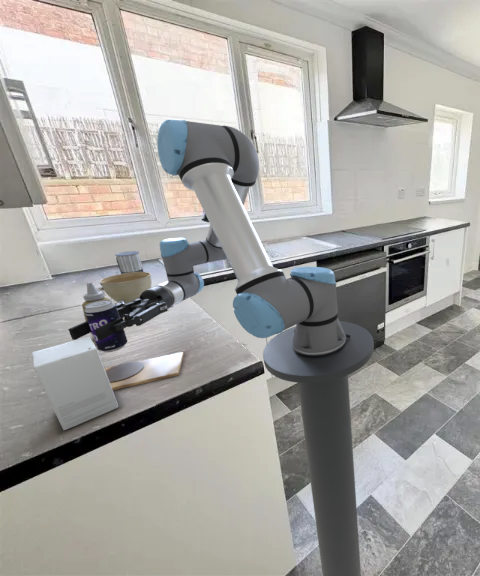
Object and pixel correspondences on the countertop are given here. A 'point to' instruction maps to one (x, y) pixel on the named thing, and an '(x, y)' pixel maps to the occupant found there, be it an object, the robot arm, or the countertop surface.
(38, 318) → the countertop surface
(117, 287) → the planter bowl
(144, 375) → the board
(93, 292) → the squeeze bottle
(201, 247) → the robot arm
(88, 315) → the beverage can
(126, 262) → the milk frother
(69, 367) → the rectangular carton
